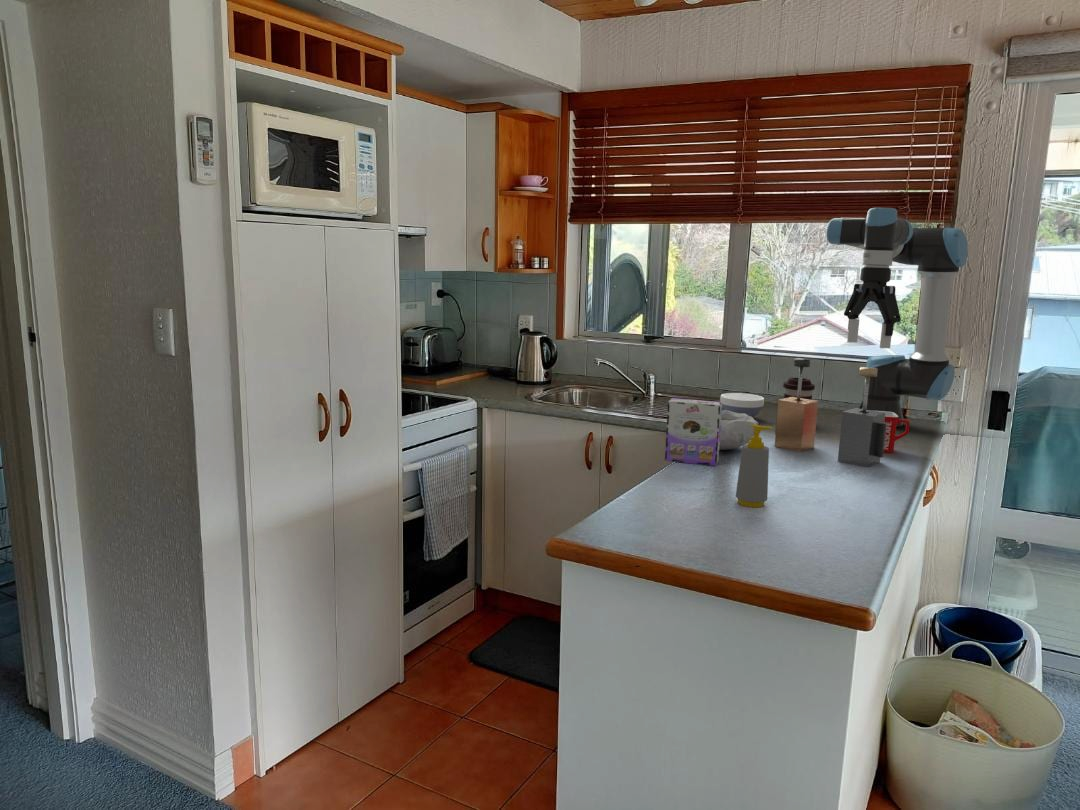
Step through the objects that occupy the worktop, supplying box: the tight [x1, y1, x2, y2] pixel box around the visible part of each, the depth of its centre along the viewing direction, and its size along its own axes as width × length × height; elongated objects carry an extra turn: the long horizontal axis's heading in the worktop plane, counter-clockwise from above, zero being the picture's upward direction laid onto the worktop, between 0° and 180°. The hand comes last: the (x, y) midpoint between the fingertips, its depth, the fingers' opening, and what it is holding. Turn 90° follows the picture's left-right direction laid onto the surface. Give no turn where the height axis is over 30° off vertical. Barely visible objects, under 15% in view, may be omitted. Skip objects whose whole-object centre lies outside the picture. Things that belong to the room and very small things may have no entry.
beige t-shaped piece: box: [858, 366, 878, 413], centre depth 216 cm, size 6×6×17 cm
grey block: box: [837, 407, 887, 468], centre depth 217 cm, size 8×10×14 cm
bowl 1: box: [719, 392, 765, 420], centre depth 273 cm, size 14×14×8 cm
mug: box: [878, 411, 911, 454], centre depth 233 cm, size 12×8×11 cm
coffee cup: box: [782, 377, 815, 400], centre depth 267 cm, size 10×10×15 cm
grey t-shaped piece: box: [793, 357, 811, 401], centre depth 231 cm, size 6×6×17 cm
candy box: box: [664, 397, 723, 467], centre depth 213 cm, size 14×6×16 cm, turn 71°
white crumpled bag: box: [719, 409, 760, 451], centre depth 229 cm, size 21×20×10 cm
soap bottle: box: [735, 424, 774, 508], centre depth 178 cm, size 7×7×18 cm
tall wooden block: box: [774, 397, 819, 452], centre depth 234 cm, size 8×10×14 cm
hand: (868, 345), depth 221 cm, fingers open, 13 cm apart
